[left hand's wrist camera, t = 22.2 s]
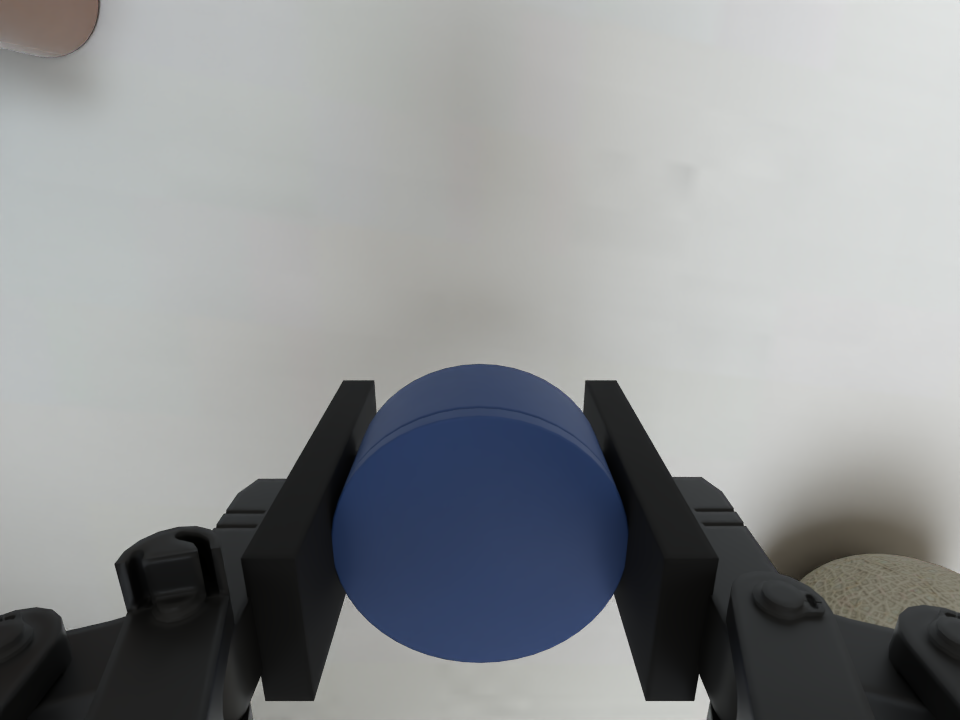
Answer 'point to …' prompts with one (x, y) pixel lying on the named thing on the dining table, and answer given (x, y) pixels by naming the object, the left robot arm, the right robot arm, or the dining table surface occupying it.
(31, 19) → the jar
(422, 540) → the lid
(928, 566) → the fruit
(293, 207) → the dining table surface
